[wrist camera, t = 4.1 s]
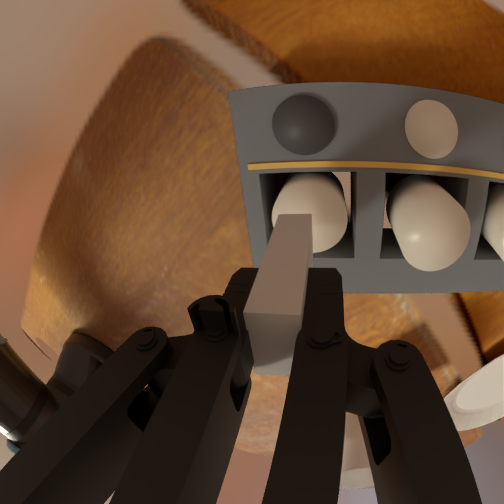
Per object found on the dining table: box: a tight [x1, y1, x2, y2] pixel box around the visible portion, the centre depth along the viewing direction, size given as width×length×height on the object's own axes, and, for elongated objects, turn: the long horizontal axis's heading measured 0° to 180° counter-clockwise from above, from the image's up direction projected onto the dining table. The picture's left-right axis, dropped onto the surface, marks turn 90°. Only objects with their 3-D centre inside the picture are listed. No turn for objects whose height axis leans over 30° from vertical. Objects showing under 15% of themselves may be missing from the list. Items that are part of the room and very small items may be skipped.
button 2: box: [386, 175, 471, 271], centre depth 13 cm, size 4×4×4 cm
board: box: [228, 82, 504, 293], centre depth 14 cm, size 20×12×4 cm, turn 97°
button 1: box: [272, 172, 348, 253], centre depth 16 cm, size 4×4×4 cm
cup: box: [339, 412, 375, 489], centre depth 21 cm, size 9×9×12 cm
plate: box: [444, 354, 504, 431], centre depth 22 cm, size 21×21×2 cm
